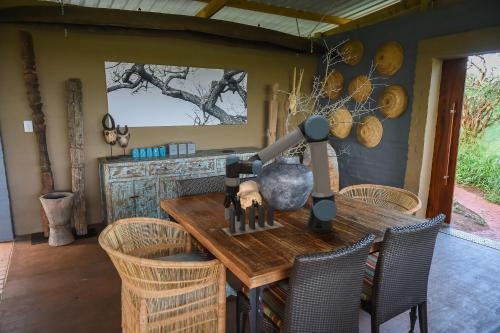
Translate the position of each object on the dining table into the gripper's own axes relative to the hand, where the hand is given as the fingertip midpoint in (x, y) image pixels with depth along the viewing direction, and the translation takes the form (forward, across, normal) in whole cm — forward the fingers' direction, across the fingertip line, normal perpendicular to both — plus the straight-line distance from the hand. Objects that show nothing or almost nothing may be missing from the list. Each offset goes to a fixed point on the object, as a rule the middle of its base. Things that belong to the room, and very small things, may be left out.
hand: (232, 223), depth 176 cm
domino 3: (+5, 0, +12) cm, 13 cm away
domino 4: (+5, 0, +18) cm, 19 cm away
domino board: (+6, 0, +13) cm, 14 cm away
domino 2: (+5, 0, +6) cm, 8 cm away
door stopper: (+6, -15, +22) cm, 27 cm away
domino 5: (+5, 0, +24) cm, 24 cm away
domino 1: (+4, 0, 0) cm, 4 cm away
